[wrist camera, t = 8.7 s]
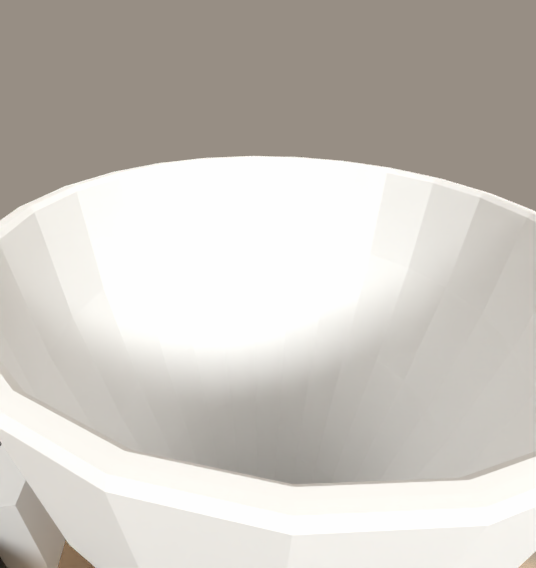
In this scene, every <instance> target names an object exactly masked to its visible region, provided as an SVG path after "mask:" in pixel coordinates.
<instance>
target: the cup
mask: <svg viewBox="0 0 536 568" xmlns="http://www.w3.org/2000/svg"><path fill="white" fill-rule="evenodd" d="M0 442H1V443H2V445H3V446H4V448H5V449H6V451H7V452H8V454H9V455H10V457H11V458H12V460H13V461H14V463H15V464H16V466H17V467H18V469H19V470H20V472H21V473H22V475H23V476H24V478H25V479H26V481H27V482H28V484H29V485H30V487H31V488H32V490H33V491H34V493H35V494H36V496H37V497H38V499H39V500H40V502H41V503H42V505H43V506H44V508H45V509H46V511H47V512H48V514H49V515H50V517H51V518H52V520H53V521H54V523H55V524H56V526H57V527H58V529H59V530H60V532H61V533H62V535H63V536H64V538H65V539H66V540H67V542H68V543H69V545H70V546H71V547H72V548H73V549H75V550H76V551H77V552H78V553H79V554H80V555H82V556H83V557H84V558H85V559H86V560H87V561H89V562H90V563H91V564H92V565H93V566H94V567H95V568H518V567H519V566H520V565H521V564H522V563H524V562H525V561H526V560H527V559H528V558H529V557H530V556H531V555H532V554H533V553H534V552H535V551H536V211H534V210H531V209H528V208H526V207H523V206H521V205H518V204H516V203H513V202H511V201H508V200H506V199H503V198H501V197H498V196H495V195H493V194H491V193H488V192H485V191H481V190H477V189H474V188H471V187H468V186H464V185H460V184H457V183H454V182H450V181H447V180H444V179H440V178H436V177H431V176H427V175H422V174H418V173H413V172H408V171H404V170H399V169H394V168H389V167H382V166H375V165H368V164H361V163H355V162H347V161H339V160H326V159H315V158H303V157H272V156H241V157H218V158H202V159H193V160H183V161H175V162H165V163H157V164H152V165H147V166H142V167H137V168H131V169H126V170H122V171H116V172H112V173H108V174H104V175H101V176H98V177H95V178H91V179H88V180H84V181H81V182H78V183H74V184H71V185H68V186H64V187H62V188H60V189H58V190H56V191H53V192H51V193H49V194H47V195H45V196H42V197H40V198H38V199H36V200H33V201H31V202H29V203H27V204H24V205H22V206H20V207H18V208H17V209H15V210H14V211H13V212H11V213H10V214H9V215H7V216H6V217H4V218H3V219H2V220H0Z"/></svg>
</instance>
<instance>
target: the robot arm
mask: <svg viewBox="0 0 536 568" xmlns="http://www.w3.org/2000/svg"><path fill="white" fill-rule="evenodd" d="M65 540H66V539H65V538H64V536H63V535H62V533H61V532H60V530H59V529H58V527H57V526H56V524H55V523H54V521H53V520H52V518H51V517H50V515H49V514H48V512H47V511H46V509H45V508H44V506H43V505H42V503H41V502H40V500H39V499H38V497H37V496H36V494H35V493H34V491H33V490H32V488H31V487H30V485H29V484H28V482H27V481H26V479H25V478H24V476H23V475H22V473H21V472H20V470H19V469H18V467H17V466H16V464H15V463H14V461H13V460H12V458H11V457H10V455H9V454H8V452H7V451H6V449H5V448H4V446H3V445H2V443H1V442H0V568H58V564H59V561H60V557H61V554H62V551H63V547H64V544H65Z"/></svg>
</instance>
